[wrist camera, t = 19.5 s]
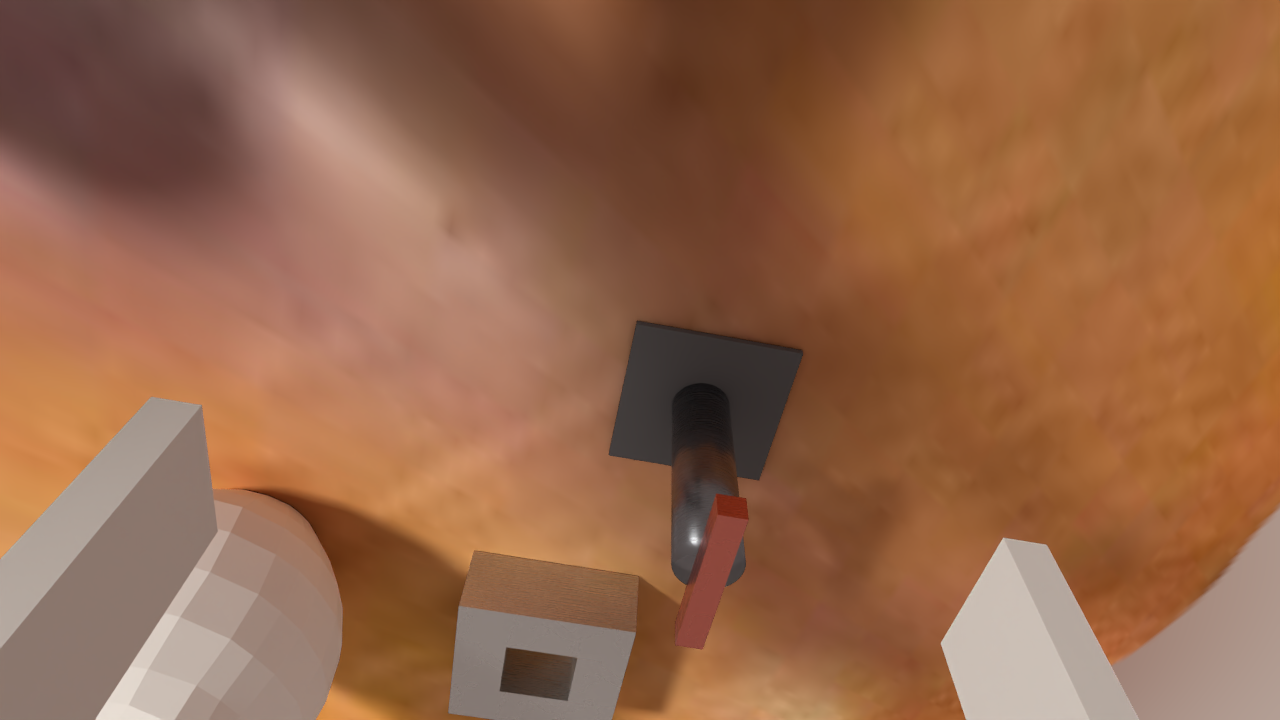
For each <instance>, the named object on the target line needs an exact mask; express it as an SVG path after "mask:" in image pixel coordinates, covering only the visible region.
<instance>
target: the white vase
mask: <svg viewBox="0 0 1280 720" xmlns="http://www.w3.org/2000/svg"><path fill="white" fill-rule="evenodd" d="M212 490H213V497H214V505H215V513H216V521H217V529H218V532H217V534H216V535H215V537H214V538H213V540H212V541H211V543H210V544H209V546H208V547H207V549H206V550H205V552H204V554H203V555H202V557H201V558H200V560H199V561H198V563H197V564H196V566H195V567H194V569H193V570H192V572H191V573H190V575H189V577H188V578H187V580H186V581H185V583H184V584H183V586H182V587H181V589H180V590H179V592H178V593H177V595H176V596H175V598H174V599H173V601H172V603H171V604H170V606H169V607H168V609H167V610H166V612H165V613H164V615H163V616H162V618H161V619H160V621H159V622H158V624H157V625H156V627H155V629H154V630H153V632H152V633H151V635H150V636H149V638H148V639H147V641H146V642H145V644H144V645H143V647H142V648H141V650H140V652H139V653H138V655H137V656H136V658H135V659H134V661H133V662H132V664H131V665H130V667H129V668H128V670H127V671H126V673H125V674H124V676H123V678H122V679H121V681H120V682H119V684H118V685H117V687H116V688H115V690H114V691H113V693H112V694H111V696H110V697H109V699H108V700H107V702H106V704H105V705H104V707H103V708H102V710H101V711H100V713H99V714H98V716H97V717H96V719H95V720H316V718H317V716H318V715H319V713H320V711H321V709H322V708H323V706H324V704H325V702H326V700H327V697H328V693H329V690H330V687H331V684H332V681H333V678H334V675H335V672H336V669H337V666H338V663H339V659H340V653H341V647H342V623H343V607H342V602H341V598H340V593H339V589H338V584H337V581H336V578H335V575H334V572H333V569H332V566H331V562H330V560H329V558H328V556H327V554H326V552H325V551H324V549H323V547H322V545H321V543H320V541H319V539H318V537H317V535H316V534H315V532H314V530H313V529H312V527H311V525H310V524H309V522H308V521H307V520H306V519H305V518H304V517H303V516H302V515H301V514H300V513H299V512H298V511H296V510H295V509H294V508H293V507H291V506H290V505H288V504H286V503H284V502H281V501H279V500H277V499H275V498H273V497H270V496H268V495H264V494H260V493H256V492H252V491H248V490H243V489H212Z"/></svg>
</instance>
